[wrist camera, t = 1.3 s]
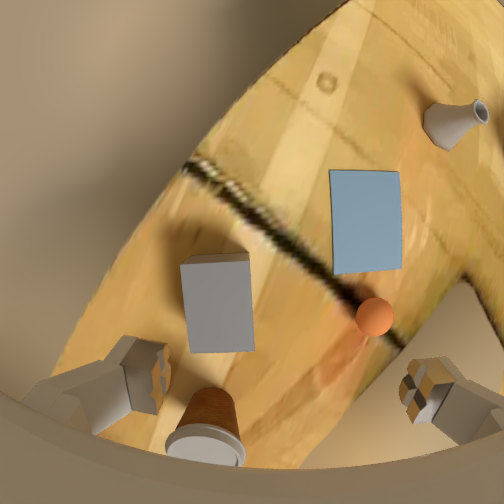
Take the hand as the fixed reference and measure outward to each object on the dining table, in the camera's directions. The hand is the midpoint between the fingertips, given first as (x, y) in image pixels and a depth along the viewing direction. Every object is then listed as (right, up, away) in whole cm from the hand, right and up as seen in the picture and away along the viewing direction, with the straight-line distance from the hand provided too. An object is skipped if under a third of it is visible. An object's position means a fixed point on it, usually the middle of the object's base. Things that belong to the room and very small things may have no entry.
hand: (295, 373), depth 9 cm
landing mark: (+14, +8, +27) cm, 31 cm away
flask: (+27, +22, +26) cm, 44 cm away
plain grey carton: (-5, -1, +28) cm, 28 cm away
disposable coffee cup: (-7, -18, +30) cm, 36 cm away
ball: (+14, -4, +26) cm, 30 cm away
